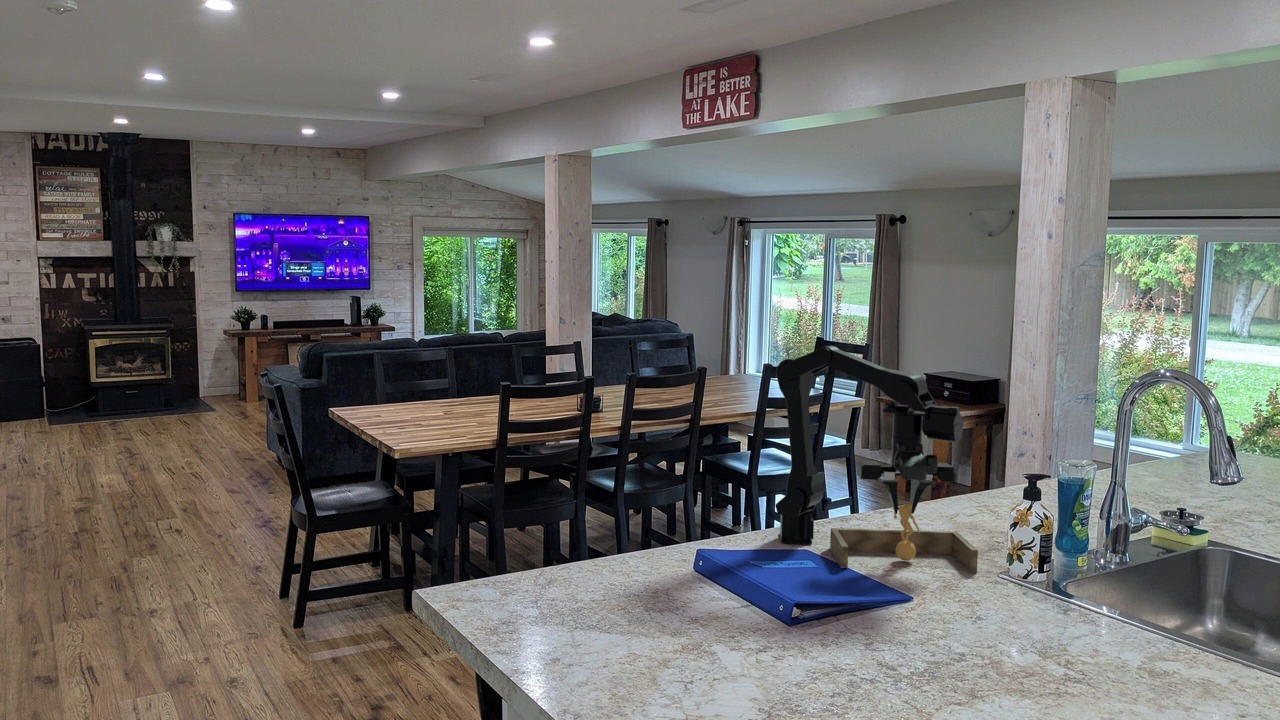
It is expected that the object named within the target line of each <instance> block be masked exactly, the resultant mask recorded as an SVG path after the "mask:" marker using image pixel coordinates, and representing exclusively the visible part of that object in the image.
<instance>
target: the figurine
mask: <svg viewBox="0 0 1280 720" xmlns="http://www.w3.org/2000/svg"><path fill="white" fill-rule="evenodd" d="M911 508H912V503H910V502H908V503H907V504H901V505H898V512H897V513H895V512H894V511H893V512H894V513H893V514H894V515H893V520H895V521H896V520H898V518H899V517H900V522H899V523H900V525H901V526H902V528H903V529H901V530H902V531H901V536H902V539H903V541H902V542H900V543H898V545H897V546H896V552H895V554H896V556H897V557H898V558H899V560H902V561H904V562H906V561H911V560H913V559H914V558H915V556H916V554H917V553H916V548H915V546H914V545H913V544H912V543H911V542H909V540H908V537H909V536H910V535H911V534H912V533H913V530H914V529H913V527H912V525H911V522H910V521H909V519H911V520H912V523H913V524H914V526H915V528H916V530H918V533H919V534H920V531H921V530H920V528H919V525H918V523H917V522H916V519H915V517H914V516H913V514H911V511H910V510H911ZM898 513H899V516H898V515H897V514H898ZM907 530H909V532H910V533H907V534H906V536H905V538H904V535H903V534H904V533H905V532H906V531H907ZM919 530H920V531H919Z"/></svg>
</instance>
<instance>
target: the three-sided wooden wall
mask: <svg viewBox="0 0 1280 720" xmlns="http://www.w3.org/2000/svg"><path fill="white" fill-rule="evenodd" d="M902 530H903V529H880V528H879V529H878V528H877V529H876V528H874V529H872V528H866V529H865V528H845V527H844V528H842V527H841V528H837V527H831V528H830V537H829V538H830V542H829V543H830V544H829V545H830V547H829V550H830V551H831V553H832V555H833V557H834V558H835V561H836V562H837V563H838V565H839V567H840V566H842V567H845V568H848V567H849V566H848V565H849V564H848V563H849V552H870V553H871V552H872V553H876V552H877V553H896V546H897V545H898V543H900V542H902V541H903V539H902V536H901V531H902ZM919 531H920V534H919V533H918V530H917V529H916V530H914V529H913V533H912V534H911V535H910V536H909V537H908V540H909V542H911V543H912V544H913V545H914V546H915V548H916V554H939V555H940V554H941V555H942V554H944V555H947V554H948V555H952V556H953V557H955V559H957V561H959V562H960V564H961V565H962V566H963V567H964V568H965V569H966V570H968V571H969V573H971V574H973V573H974V574H975V573H978V562H979V561H978V559H979V556H978V555H979V549H978V548H976V547H975V546H974V545H973V544H971V543H970V541H968V540H967V539H966V538H965V537H964V536H963V535H961V533H959V532H958V531H957V530H956V531H954V530H952V531H949V530H920V529H919ZM907 533H910V532H909V530H908V529H907V531H906V532H905V533H904V534H903V535H904V538H905V536H906V534H907ZM848 569H849V568H848Z"/></svg>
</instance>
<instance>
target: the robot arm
mask: <svg viewBox="0 0 1280 720" xmlns="http://www.w3.org/2000/svg"><path fill="white" fill-rule="evenodd" d="M828 367H829V368H832V369H834V370H836V371H838V372H841V373H843V374H845V375H848V376H850V377H852V378H855V379H858V380H861V381H863V382H865V383H867V384H869V385H872V386H874V387H876V389H879V391H881V392H882V393H883V394H884V395H885V396H887V397H888V398H890V399H891V400H893V401H891V402H890V403H889V404H888V405H887V406H886V407H885V408H883V409H882V412H883V413H884V414H893V415H892V417H893V418H892V435H891V437H892V438H891V459H890V465H881V464H880V463H879V462H878V461H876V460H859V461H858V462H857V464H856V474H855V475H857V476H858V477H859V478H860V479H861V480H875V481H876V480H877V481H878V480H879V481H880V483H882V484H883V485H884V486H885V489H886V491H887V493H888V496H889V499H890V503H891V506H892V508H893V509H892V510H893V512H895V513H897V514H898V513H899V510H898V507H899V505H898V504H899V502H898V484H899V482H898V480H896V476H900V478H901V479H903V480H904V481H910V480H911V488H910V489H911V490H910V502H909V503H912V508H911V510H910V511H911V514H912V515H914V513H915V511H916V509H917V507H918V504H919V501H920V499H921V496H922V495H923V494H924V491H926V489H927V488H928V486H933V485H934V484H935V482H934V481H933V480H932V479H933V477H936V478H937V479H938V480H939V481H940V482H948V483H949V482H950V483H951V482H952V483H953V482H957V471H956V469H955V468H954V467H953V465H950V464H949V463H947V462H938V456H937V455H936V454H926V455H924V451H923V450H924V448H923V443H922V441H923V435H924V436H926V437H927V439H928V440H935V441H942V442H950V443H951V442H952V443H959V442H960V440H961V439H962V436H963V431H964V429H963V428H964V423H963V418H962V414H961V413H960V412H961V407H958V406H948V407H947V406H938V404H937V402H936V401H935V399H934V398H933V396H932V394H931V393H930V391H929V390H928V384H927V382H926V379H925V378H924V377H923V376H922V375H920V374H917V373H914V372H910V371H904V370H898V369H891V368H887V367H884V366H881V365H878V364H877V363H874V362H871V361H869V360H867V359H863V358H861V357H859V356H856V355H854V354H851V353H849V352H846V351H844V350H841V349H839V348H838V347H837V346H835V345H825V346H821V347H819V348H818V349H816V350H814V351H812V352H810V353H806V354H804V355H802V356H800V357H793V358H787V359H783V360H782V361H780V362H779V364H778V365H777V366H776V370H775V374H776V378H777V384H778V387H779V390H780V392H781V393H782V395H783V397H784V400H785V402H786V413H787V424H788V438H789V447H790V449H789V450H790V451H789V452H790V461H791V467H790V471H789V474H788V477H787V481H786V491H785V492H786V493H785V494H786V495H785V496H784V497H782V498H781V499H780V500H779V501H777V503H776V504H774V505H775V509H776V513H777V515H780V521H779V522H780V523H779V525H780V527H779V528H780V531H779V533H778V537H779V540H780V543H781V544H800V545H801V544H802V545H811V544H813V540H814V531H815V529H814V526H815V525H814V524H815V522H814V518H812V513H811V511H814V510H815V508H816V506H817V504H818V503H820V502H821V500H822V499H823V498H824V494H825V493H824V492H825V491H827V488H826V486H825V485H826V484H825V472H824V471H820V472H819V471H818V470H817V468H816V466H815V463H814V451H813V442H812V440H813V439H812V428H811V417H810V416H811V415H810V403H809V399H810V394H811V391H812V388H813V385H814V375H815V374H817V373H819V372H822V371H824V369H827V368H828Z"/></svg>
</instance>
